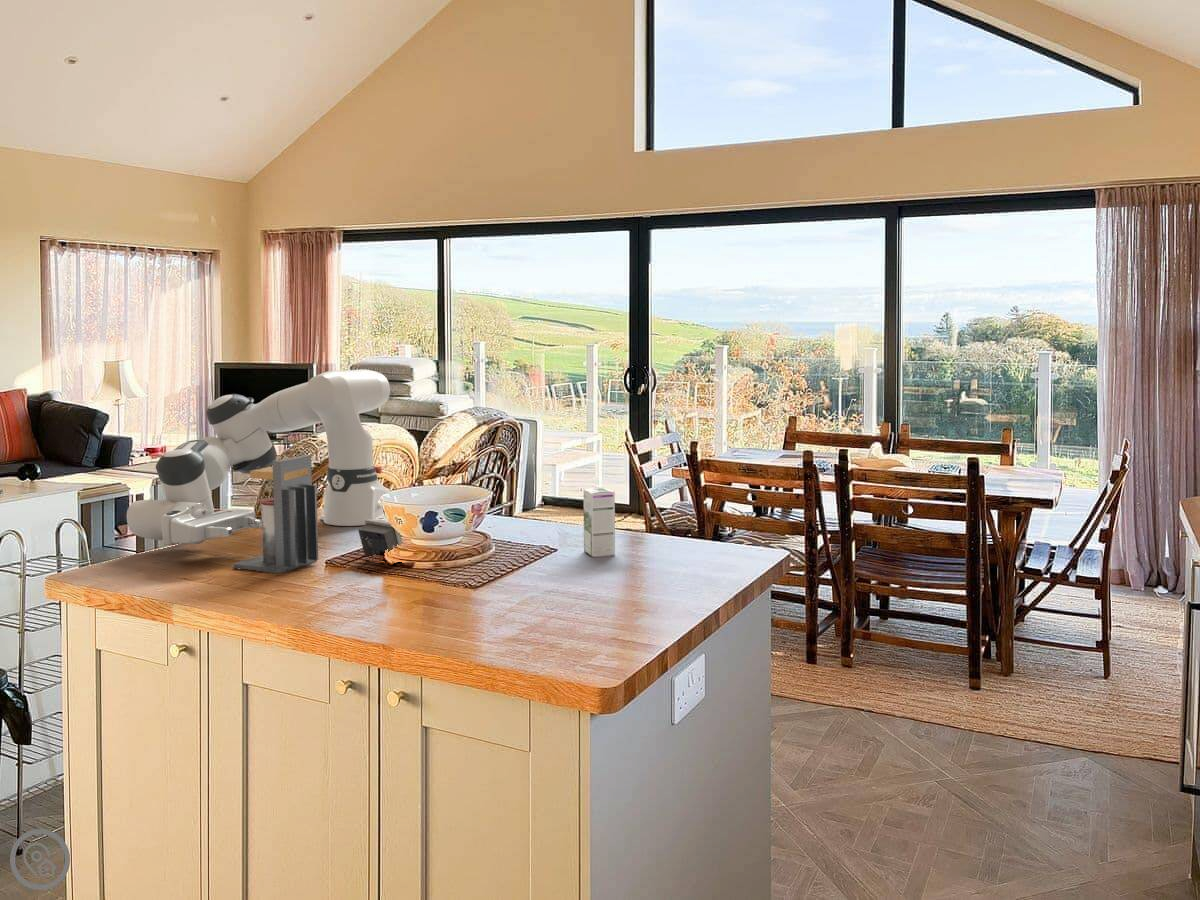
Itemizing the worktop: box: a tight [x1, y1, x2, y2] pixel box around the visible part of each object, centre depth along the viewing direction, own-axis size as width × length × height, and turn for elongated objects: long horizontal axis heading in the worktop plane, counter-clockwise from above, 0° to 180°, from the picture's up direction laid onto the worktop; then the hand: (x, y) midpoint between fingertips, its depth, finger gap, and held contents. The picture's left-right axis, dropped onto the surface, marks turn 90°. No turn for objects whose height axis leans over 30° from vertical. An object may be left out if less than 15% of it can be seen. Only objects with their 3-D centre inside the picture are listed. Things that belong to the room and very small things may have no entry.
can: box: [259, 497, 276, 563], centre depth 213 cm, size 5×5×13 cm
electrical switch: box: [358, 519, 403, 558], centre depth 216 cm, size 9×5×9 cm, turn 57°
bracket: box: [233, 454, 319, 575], centre depth 212 cm, size 12×14×23 cm
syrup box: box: [583, 487, 616, 558], centre depth 225 cm, size 6×6×14 cm
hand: (244, 528), depth 214 cm, fingers open, 8 cm apart
